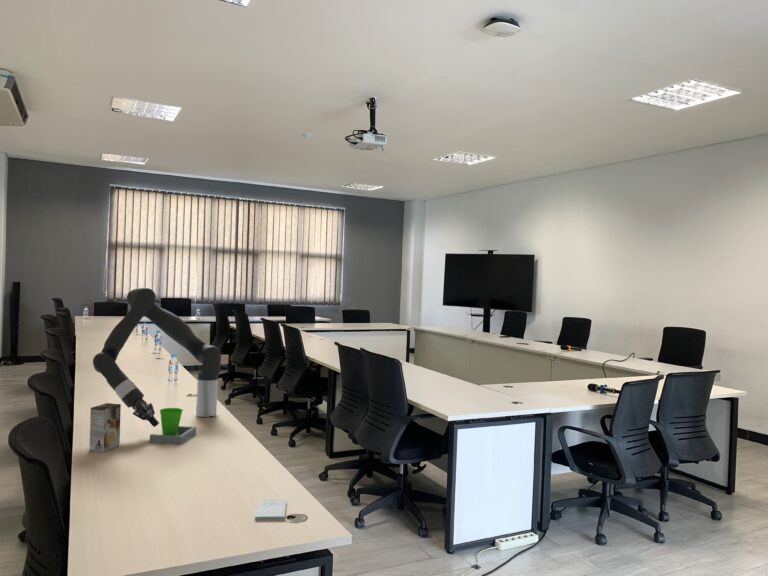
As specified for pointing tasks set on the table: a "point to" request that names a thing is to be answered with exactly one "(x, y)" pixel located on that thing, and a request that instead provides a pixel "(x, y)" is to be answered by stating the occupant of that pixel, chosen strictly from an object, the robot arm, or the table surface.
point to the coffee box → (105, 427)
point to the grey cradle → (173, 439)
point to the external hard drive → (271, 510)
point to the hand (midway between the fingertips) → (156, 425)
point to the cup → (170, 420)
